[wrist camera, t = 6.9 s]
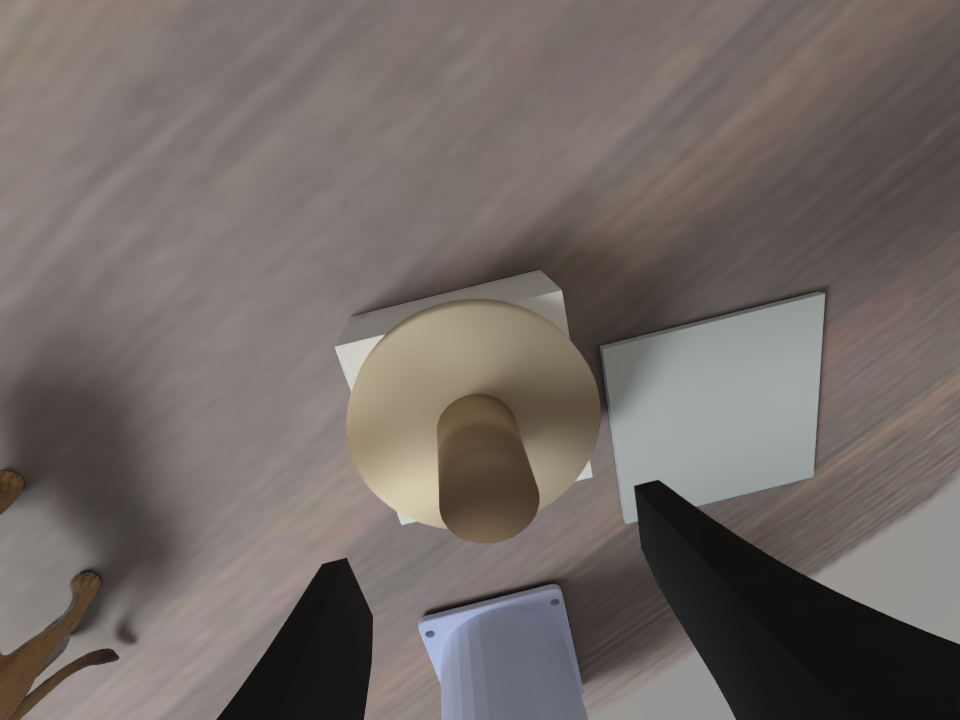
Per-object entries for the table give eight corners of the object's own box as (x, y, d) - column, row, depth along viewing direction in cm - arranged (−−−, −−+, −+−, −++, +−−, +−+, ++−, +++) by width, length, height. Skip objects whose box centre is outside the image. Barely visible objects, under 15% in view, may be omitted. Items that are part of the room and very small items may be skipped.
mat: (807, 472, 25) (813, 477, 25) (623, 518, 25) (626, 524, 25) (818, 291, 21) (825, 293, 21) (599, 345, 21) (602, 349, 21)
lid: (610, 475, 19) (667, 571, 15) (400, 538, 20) (392, 653, 15) (564, 264, 16) (619, 305, 11) (309, 344, 16) (261, 416, 12)
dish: (569, 432, 23) (592, 476, 19) (405, 473, 23) (401, 525, 19) (539, 269, 20) (561, 290, 16) (350, 316, 19) (334, 347, 16)
